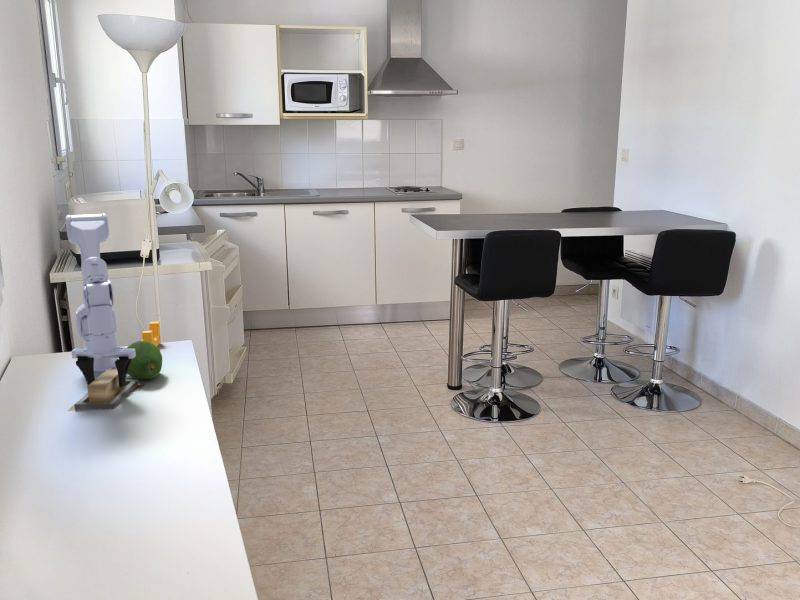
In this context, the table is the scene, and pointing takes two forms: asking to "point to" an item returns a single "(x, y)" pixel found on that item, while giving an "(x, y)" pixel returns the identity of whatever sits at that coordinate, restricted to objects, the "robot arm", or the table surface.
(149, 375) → the fruit
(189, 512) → the table surface
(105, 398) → the wooden block
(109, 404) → the channel
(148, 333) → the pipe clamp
